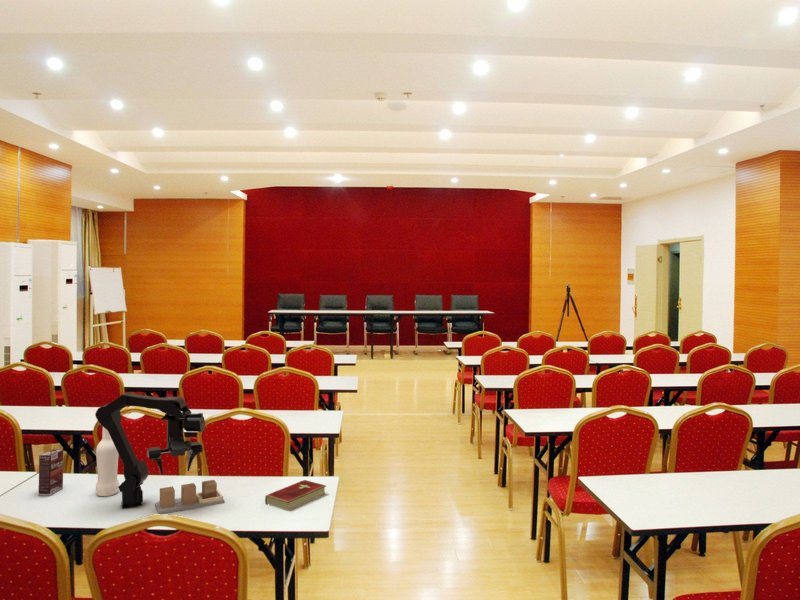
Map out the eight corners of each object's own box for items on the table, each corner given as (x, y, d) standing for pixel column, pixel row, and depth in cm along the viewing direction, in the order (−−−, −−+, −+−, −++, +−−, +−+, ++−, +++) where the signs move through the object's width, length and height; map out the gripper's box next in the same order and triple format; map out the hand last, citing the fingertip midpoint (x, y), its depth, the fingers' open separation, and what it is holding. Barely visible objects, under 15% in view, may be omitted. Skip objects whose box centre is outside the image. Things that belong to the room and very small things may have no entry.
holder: (158, 514, 199) (158, 495, 199) (155, 505, 208) (155, 486, 208) (224, 502, 211) (224, 484, 211) (218, 494, 220) (218, 476, 220)
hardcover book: (265, 505, 210) (265, 494, 210) (303, 489, 228) (303, 478, 228) (288, 512, 204) (288, 501, 204) (325, 495, 221) (326, 484, 221)
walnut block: (216, 498, 212) (216, 483, 212) (204, 500, 210) (204, 485, 210) (213, 495, 216) (214, 479, 216) (201, 497, 214) (202, 481, 214)
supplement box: (50, 496, 215) (50, 455, 215) (37, 496, 215) (38, 455, 215) (64, 488, 224) (64, 449, 224) (52, 488, 224) (52, 449, 224)
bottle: (123, 490, 223) (123, 415, 222) (110, 497, 215) (111, 420, 214) (104, 489, 224) (104, 414, 223) (91, 496, 216) (91, 419, 215)
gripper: (151, 439, 196) (150, 483, 197) (205, 433, 206) (205, 475, 206) (147, 432, 206) (146, 474, 206) (199, 426, 216) (199, 466, 216)
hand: (175, 472), depth 208 cm, fingers open, 9 cm apart
